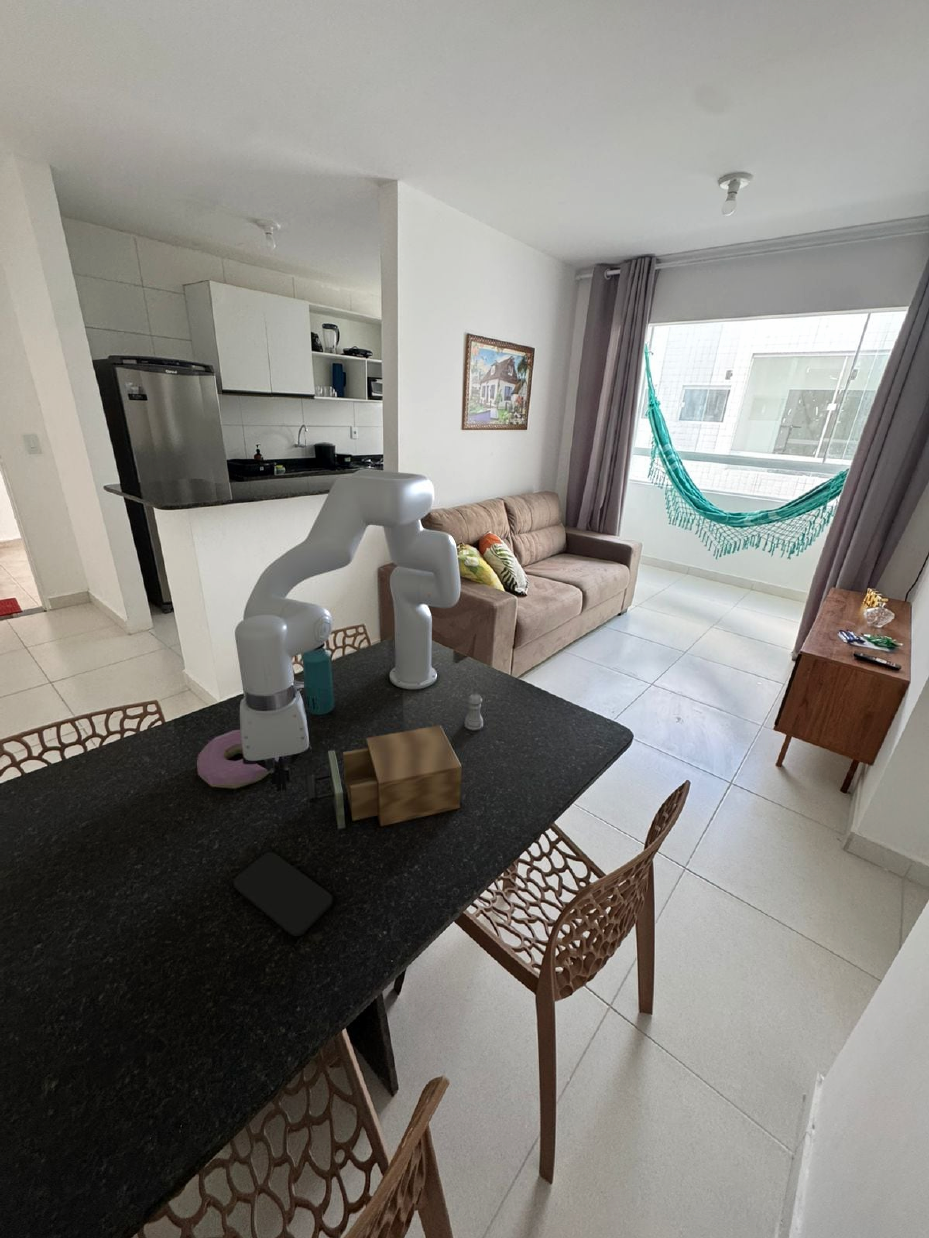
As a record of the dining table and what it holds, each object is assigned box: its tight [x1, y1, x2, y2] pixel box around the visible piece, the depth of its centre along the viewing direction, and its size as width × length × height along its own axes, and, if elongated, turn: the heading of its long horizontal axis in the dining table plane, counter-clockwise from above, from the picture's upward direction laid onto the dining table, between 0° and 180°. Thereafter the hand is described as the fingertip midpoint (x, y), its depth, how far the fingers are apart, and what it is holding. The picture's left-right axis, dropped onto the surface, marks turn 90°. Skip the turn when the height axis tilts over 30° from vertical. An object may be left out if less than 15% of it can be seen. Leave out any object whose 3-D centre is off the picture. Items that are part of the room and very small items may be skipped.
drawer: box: [306, 747, 379, 830], centre depth 93 cm, size 18×12×8 cm, turn 110°
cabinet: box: [365, 724, 462, 827], centre depth 96 cm, size 15×13×10 cm
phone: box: [232, 851, 333, 937], centre depth 77 cm, size 7×1×15 cm
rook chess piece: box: [463, 692, 484, 732], centre depth 117 cm, size 4×4×8 cm
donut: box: [196, 729, 280, 790], centre depth 102 cm, size 16×15×5 cm
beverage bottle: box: [301, 642, 336, 716], centre depth 117 cm, size 6×7×20 cm
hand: (281, 784), depth 87 cm, fingers closed
